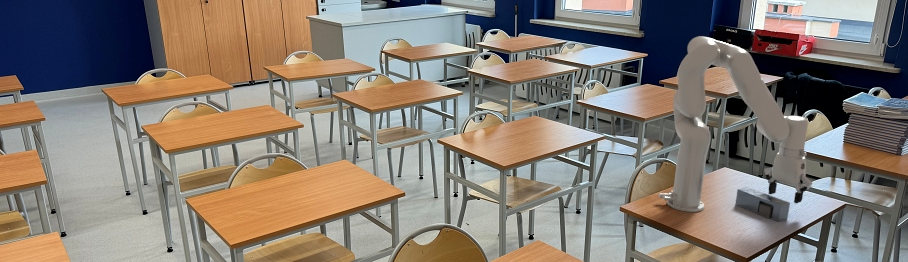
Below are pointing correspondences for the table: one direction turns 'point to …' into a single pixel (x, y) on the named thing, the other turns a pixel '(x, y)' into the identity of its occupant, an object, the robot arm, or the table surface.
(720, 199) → the table surface
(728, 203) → the table surface
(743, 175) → the table surface
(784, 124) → the robot arm
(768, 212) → the plug
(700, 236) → the table surface
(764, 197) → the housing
